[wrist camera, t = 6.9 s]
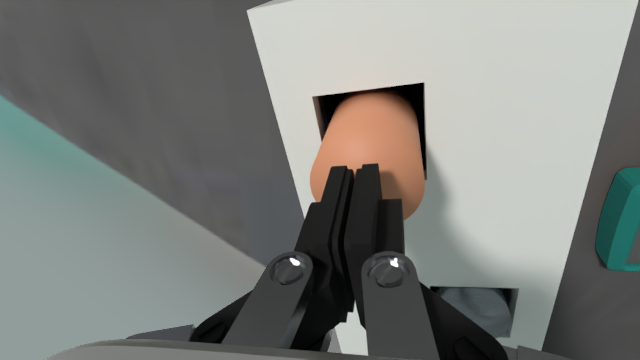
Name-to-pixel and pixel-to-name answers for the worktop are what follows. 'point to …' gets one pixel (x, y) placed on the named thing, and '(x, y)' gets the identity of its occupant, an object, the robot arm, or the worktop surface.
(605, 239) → the digital multimeter
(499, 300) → the charcoal plunger
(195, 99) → the worktop surface
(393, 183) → the orange rounded cylinder
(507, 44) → the panel
